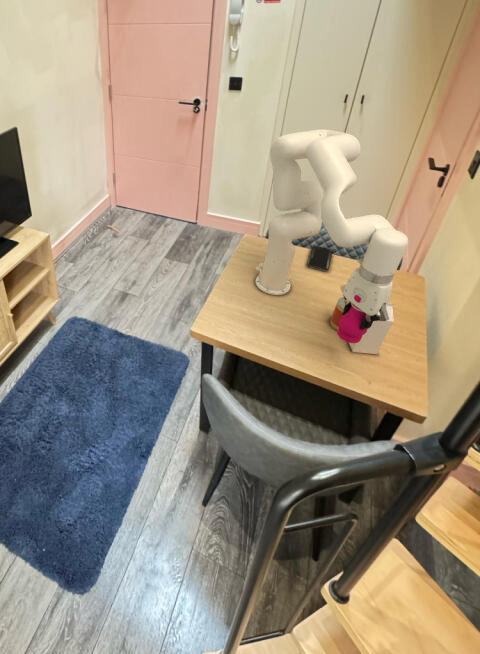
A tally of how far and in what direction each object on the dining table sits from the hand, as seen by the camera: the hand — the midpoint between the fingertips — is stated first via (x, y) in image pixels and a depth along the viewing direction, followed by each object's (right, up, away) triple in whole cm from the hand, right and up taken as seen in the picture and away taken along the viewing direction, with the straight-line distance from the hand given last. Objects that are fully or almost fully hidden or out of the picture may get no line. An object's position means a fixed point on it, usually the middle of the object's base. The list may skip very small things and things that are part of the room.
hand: (355, 320), depth 116 cm
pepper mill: (0, -5, +4) cm, 7 cm away
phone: (+18, +15, +51) cm, 56 cm away
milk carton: (+11, -11, +14) cm, 21 cm away
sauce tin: (+9, -6, +22) cm, 24 cm away
